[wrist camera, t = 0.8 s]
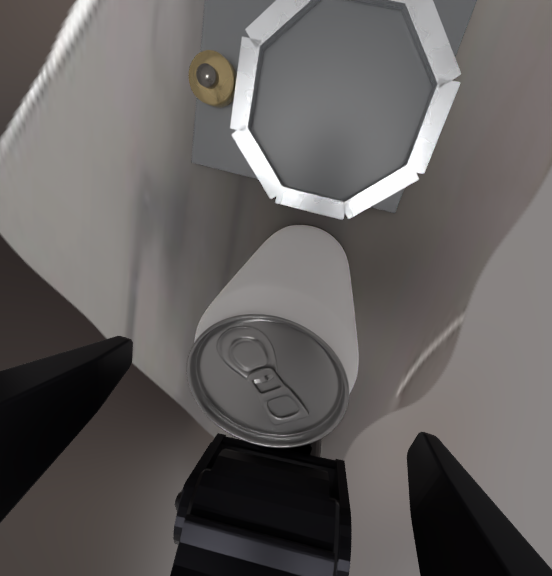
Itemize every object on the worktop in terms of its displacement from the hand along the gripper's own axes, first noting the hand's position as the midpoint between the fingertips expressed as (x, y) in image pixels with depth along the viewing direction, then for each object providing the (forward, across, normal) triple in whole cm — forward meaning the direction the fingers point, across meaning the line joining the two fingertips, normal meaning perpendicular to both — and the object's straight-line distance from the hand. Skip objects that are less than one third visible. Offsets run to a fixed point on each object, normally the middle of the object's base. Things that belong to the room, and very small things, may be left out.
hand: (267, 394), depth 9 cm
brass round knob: (+13, +8, -9) cm, 17 cm away
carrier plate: (+13, +2, -10) cm, 16 cm away
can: (+13, 0, 0) cm, 13 cm away
